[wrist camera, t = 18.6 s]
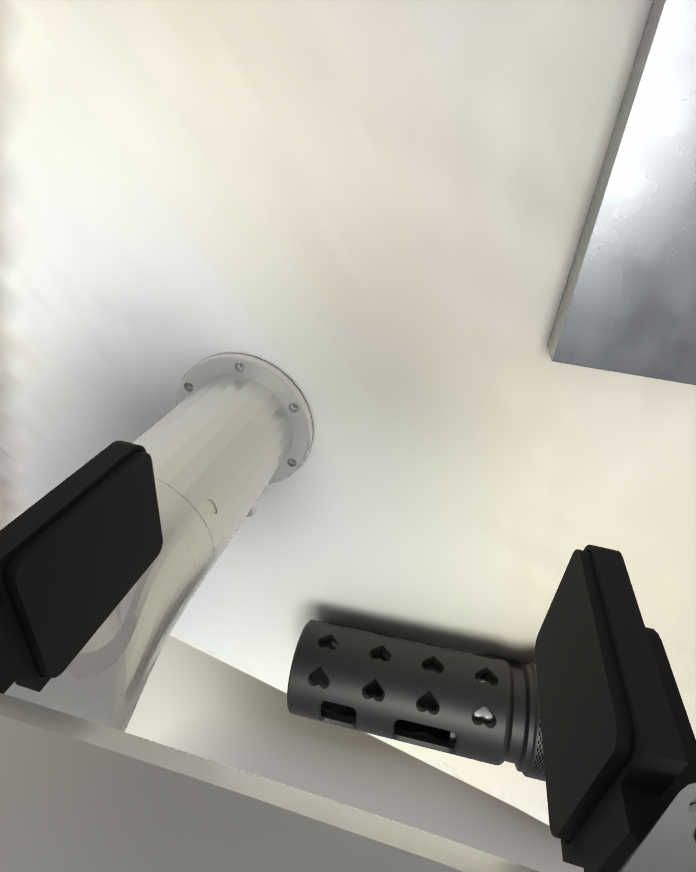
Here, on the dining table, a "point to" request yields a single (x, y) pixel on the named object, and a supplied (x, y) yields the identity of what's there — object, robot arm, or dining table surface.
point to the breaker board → (642, 221)
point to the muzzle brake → (419, 694)
